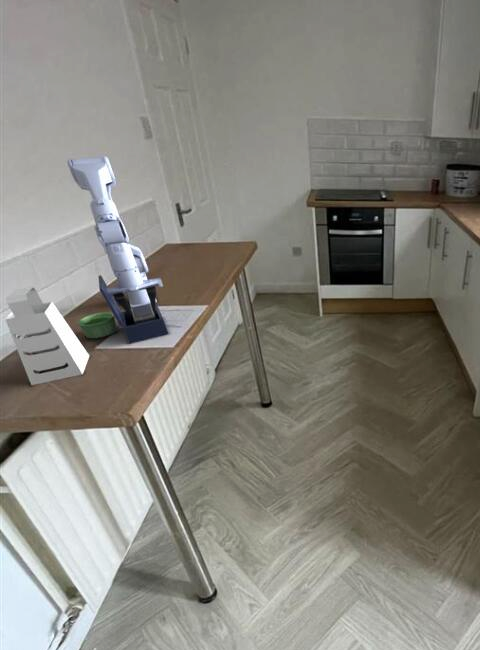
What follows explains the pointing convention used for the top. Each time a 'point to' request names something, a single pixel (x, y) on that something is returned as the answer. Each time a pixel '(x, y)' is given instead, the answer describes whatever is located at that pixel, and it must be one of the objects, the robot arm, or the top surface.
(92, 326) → the ramekin
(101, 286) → the cover
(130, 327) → the dark blue box
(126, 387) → the top surface
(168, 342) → the top surface
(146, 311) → the phone
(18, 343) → the grater
